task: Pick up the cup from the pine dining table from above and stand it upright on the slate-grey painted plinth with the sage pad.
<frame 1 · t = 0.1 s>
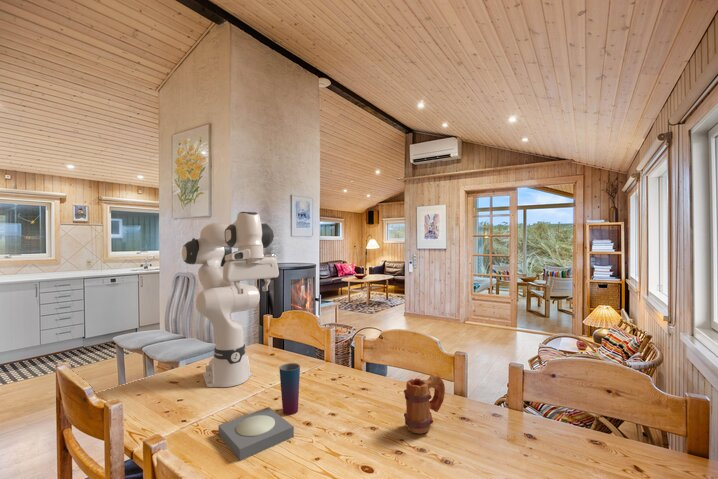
hand: (253, 292, 124), 39 cm above the table, tool pointing down, fingers open, 8 cm apart
plinth: (255, 436, 100), on the table
mug: (425, 427, 103), on the table
cup: (290, 411, 115), on the table
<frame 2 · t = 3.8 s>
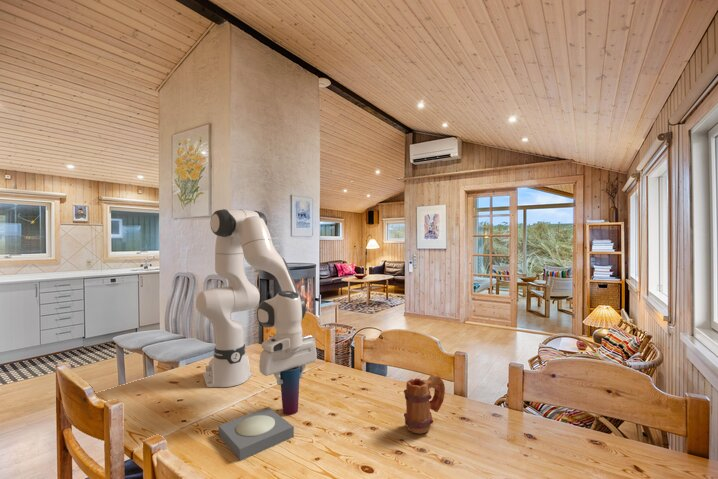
hand: (289, 381, 115), 10 cm above the table, tool pointing down, fingers closed on cup, 6 cm apart
cup: (290, 411, 115), on the table, touching gripper
everything else where it was.
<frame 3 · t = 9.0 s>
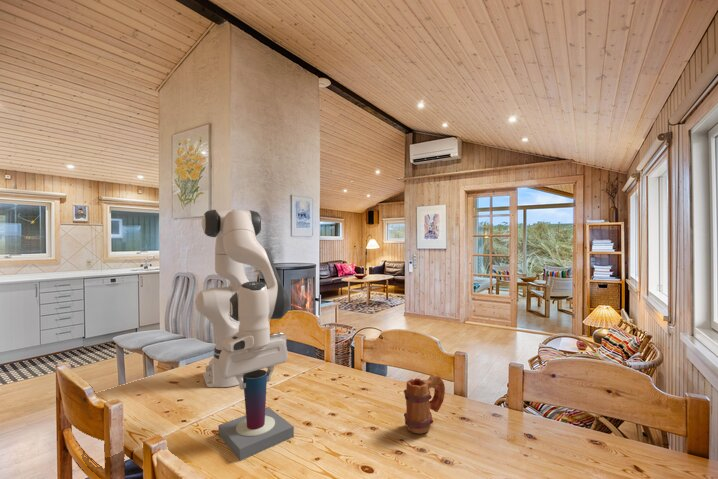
hand: (255, 384, 100), 15 cm above the table, tool pointing down, fingers closed on cup, 6 cm apart
cup: (255, 425, 100), point 3 cm above the table, touching gripper, plinth
everything else where it was.
when the fingers open (15 cm above the table, at t = 10.0 s): cup stays where it is, resting on plinth.
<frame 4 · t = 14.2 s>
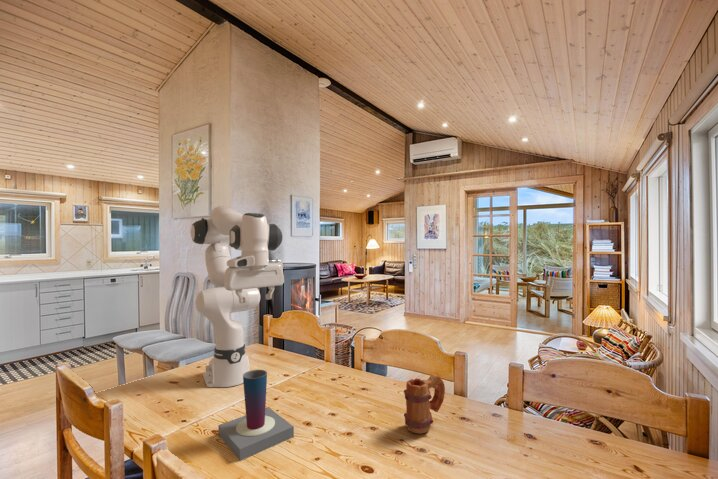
hand: (255, 301, 115), 37 cm above the table, tool pointing down, fingers open, 8 cm apart
cup: (255, 425, 100), point 3 cm above the table, touching plinth
everything else where it was.
at the end: cup inside the target area on the plinth (0.1 cm from its centre), point 3.1 cm above the plinth's base; cup tilted 0°; the gripper is holding nothing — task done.
